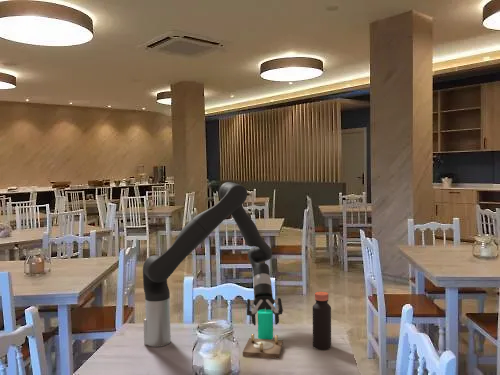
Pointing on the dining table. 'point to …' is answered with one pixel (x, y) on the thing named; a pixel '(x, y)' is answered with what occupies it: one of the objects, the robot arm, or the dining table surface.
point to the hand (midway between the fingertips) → (265, 324)
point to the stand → (268, 348)
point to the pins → (262, 343)
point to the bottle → (321, 322)
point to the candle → (265, 324)
